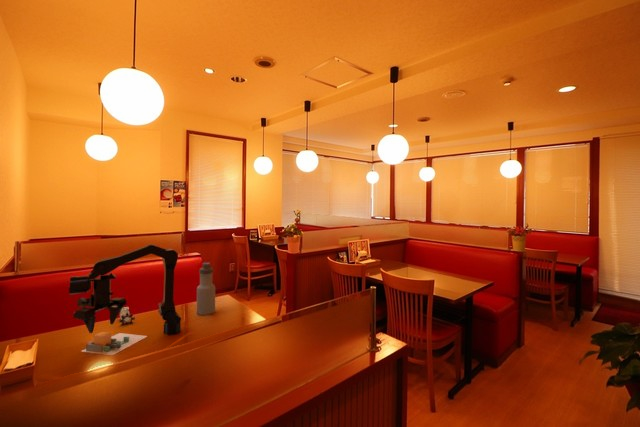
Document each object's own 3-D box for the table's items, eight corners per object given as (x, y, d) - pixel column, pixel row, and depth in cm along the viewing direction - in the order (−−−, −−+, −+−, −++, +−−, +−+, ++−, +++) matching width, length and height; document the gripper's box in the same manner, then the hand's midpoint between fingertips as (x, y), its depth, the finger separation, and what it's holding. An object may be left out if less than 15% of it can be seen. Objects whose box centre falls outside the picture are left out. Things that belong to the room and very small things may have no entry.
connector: (123, 347, 121) (123, 334, 121) (115, 351, 118) (115, 338, 118) (102, 345, 123) (102, 331, 123) (93, 348, 120) (93, 335, 120)
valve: (116, 321, 153) (119, 328, 143) (116, 308, 153) (119, 314, 143) (131, 318, 157) (135, 325, 148) (131, 305, 157) (135, 311, 148)
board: (147, 338, 132) (147, 336, 132) (111, 357, 115) (111, 355, 115) (119, 335, 135) (119, 333, 135) (80, 353, 118) (80, 351, 118)
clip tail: (118, 346, 122) (118, 341, 122) (108, 351, 118) (108, 347, 118) (114, 345, 123) (114, 341, 123) (103, 351, 118) (103, 346, 118)
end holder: (116, 344, 124) (116, 338, 124) (100, 352, 117) (100, 346, 117) (102, 342, 125) (102, 337, 125) (86, 350, 118) (86, 344, 118)
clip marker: (128, 341, 127) (129, 336, 127) (118, 346, 122) (118, 341, 122) (125, 340, 128) (125, 336, 128) (114, 345, 123) (114, 341, 123)
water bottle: (197, 310, 170) (197, 261, 170) (215, 308, 173) (215, 261, 173) (195, 316, 160) (196, 265, 160) (214, 314, 163) (215, 264, 163)
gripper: (106, 283, 132) (106, 318, 132) (62, 295, 113) (61, 335, 113) (127, 285, 129) (127, 320, 129) (85, 297, 111) (85, 338, 111)
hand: (101, 328), depth 121 cm, fingers open, 9 cm apart
